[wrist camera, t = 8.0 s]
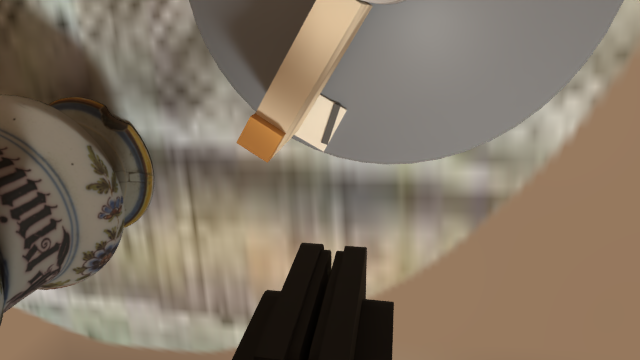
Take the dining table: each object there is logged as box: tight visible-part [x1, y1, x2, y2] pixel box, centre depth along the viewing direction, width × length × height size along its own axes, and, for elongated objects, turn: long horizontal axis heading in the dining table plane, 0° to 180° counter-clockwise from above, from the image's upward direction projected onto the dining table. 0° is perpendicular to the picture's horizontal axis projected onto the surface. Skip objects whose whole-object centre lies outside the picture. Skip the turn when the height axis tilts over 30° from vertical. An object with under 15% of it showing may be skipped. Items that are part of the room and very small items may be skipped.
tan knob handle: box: [237, 0, 406, 162], centre depth 19 cm, size 12×5×6 cm, turn 149°
